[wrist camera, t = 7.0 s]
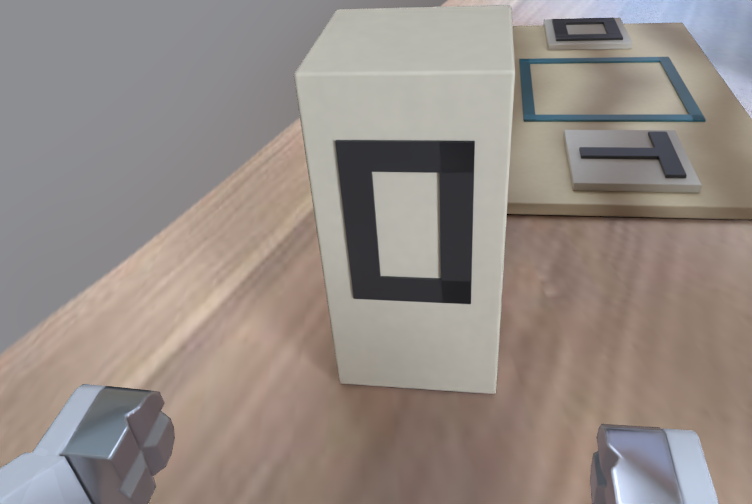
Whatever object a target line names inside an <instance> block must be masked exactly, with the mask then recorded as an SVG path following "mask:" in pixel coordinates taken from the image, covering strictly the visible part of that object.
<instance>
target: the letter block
mask: <svg viewBox="0 0 752 504" xmlns="http://www.w3.org/2000/svg"><path fill="white" fill-rule="evenodd" d="M294 80H295V86H296V93H297V100H298V106H299V112H300V120H301V127H302V133H303V140H304V147H305V154H306V160H307V167H308V174H309V181H310V187H311V194H312V201H313V207H314V214H315V221H316V228H317V234H318V241H319V248H320V255H321V261H322V268H323V275H324V281H325V288H326V295H327V302H328V308H329V315H330V322H331V328H332V335H333V342H334V349H335V355H336V362H337V369H338V376H339V382H340V383H341V384H354V385H368V386H383V387H398V388H413V389H427V390H442V391H457V392H472V393H486V394H495V392H496V385H497V368H498V351H499V334H500V318H501V301H502V284H503V268H504V251H505V234H506V218H507V201H508V184H509V167H510V151H511V134H512V117H513V101H514V84H515V62H514V44H513V26H512V8H511V6H510V5H491V6H454V7H419V8H381V9H346V10H345V9H344V10H336V12H335V13H334V15H333V16H332V18H331V19H330V21H329V22H328V24H327V25H326V27H325V28H324V30H323V31H322V33H321V34H320V36H319V37H318V39H317V40H316V42H315V43H314V45H313V46H312V48H311V49H310V51H309V52H308V54H307V55H306V57H305V58H304V60H303V61H302V63H301V64H300V66H299V67H298V69H297V70H296V72H295V74H294Z"/></svg>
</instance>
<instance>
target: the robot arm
mask: <svg viewBox="0 0 752 504" xmlns="http://www.w3.org/2000/svg"><path fill="white" fill-rule="evenodd" d="M163 405H164V401H163V398H162V396H161V394H160V392H158V391H149V390H140V389H130V388H121V387H111V386H100V385H88V384H83V385H81V386H80V387H79V388H77V389H76V390H75V391H74V392H73V394H72V395H71V397H70V398H69V399H68V401H67V402H66V404H65V405H64V407H63V408H62V410H61V411H60V413H59V414H58V416H57V417H56V418H55V420H54V421H53V423H52V424H51V426H50V427H49V429H48V430H47V432H46V433H45V434H44V436H43V437H42V439H41V440H40V442H39V443H38V445H37V446H36V448H35V449H34V451H33V452H32V453H23V454H22V455H20V456H19V457H17V458H16V459H14V460H13V461H11V462H9V463H8V464H6V465H5V466H3V467H2V468H0V504H148V503H149V501H150V499H151V496H152V494H153V492H154V490H155V488H156V485H155V481H154V477H153V476H154V475H156V474H157V473H158V472H159V471H161V470H162V469H163V468H165V467H166V465H167V463H168V461H169V458H170V456H171V454H172V449H173V444H174V439H175V436H174V426H173V424H172V421H171V418H169V417H168V416H167V415H166V414H164V413H163V412H162V411H161V409H162V407H163ZM597 444H598V451H596V452H595V453H593V457H592V463H591V475H590V486H591V499H592V504H719V502H718V499H717V496H716V492H715V489H714V486H713V483H712V479H711V476H710V473H709V469H708V466H707V463H706V460H705V456H704V453H703V450H702V446H701V443H700V440H699V437H698V435H697V434H696V433H695V431H691V430H677V429H664V428H663V429H661V428H659V427H643V426H627V425H611V424H601V425H600V427H599V429H598V433H597Z"/></svg>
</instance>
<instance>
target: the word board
mask: <svg viewBox="0 0 752 504" xmlns="http://www.w3.org/2000/svg"><path fill="white" fill-rule="evenodd" d="M513 44H514V62H515V84H514V101H513V117H512V134H511V151H510V167H509V184H508V201H507V214H535V215H577V216H619V217H661V218H703V219H745V220H752V119H751V118H750V116H749V115H748V113H747V112H746V111H745V109H744V108H743V106H742V105H741V104H740V102H739V101H738V100H737V98H736V97H735V95H734V94H733V93H732V91H731V90H730V88H729V87H728V86H727V84H726V83H725V81H724V80H723V79H722V77H721V76H720V74H719V73H718V72H717V70H716V69H715V68H714V66H713V65H712V63H711V62H710V61H709V59H708V58H707V56H706V55H705V54H704V52H703V51H702V49H701V48H700V47H699V45H698V44H697V43H696V41H695V40H694V38H693V37H692V36H691V34H690V33H689V31H688V30H687V29H686V27H685V26H684V24H683V23H641V24H623V22H622V20H621V18H580V19H548V20H544V26H513Z"/></svg>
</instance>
